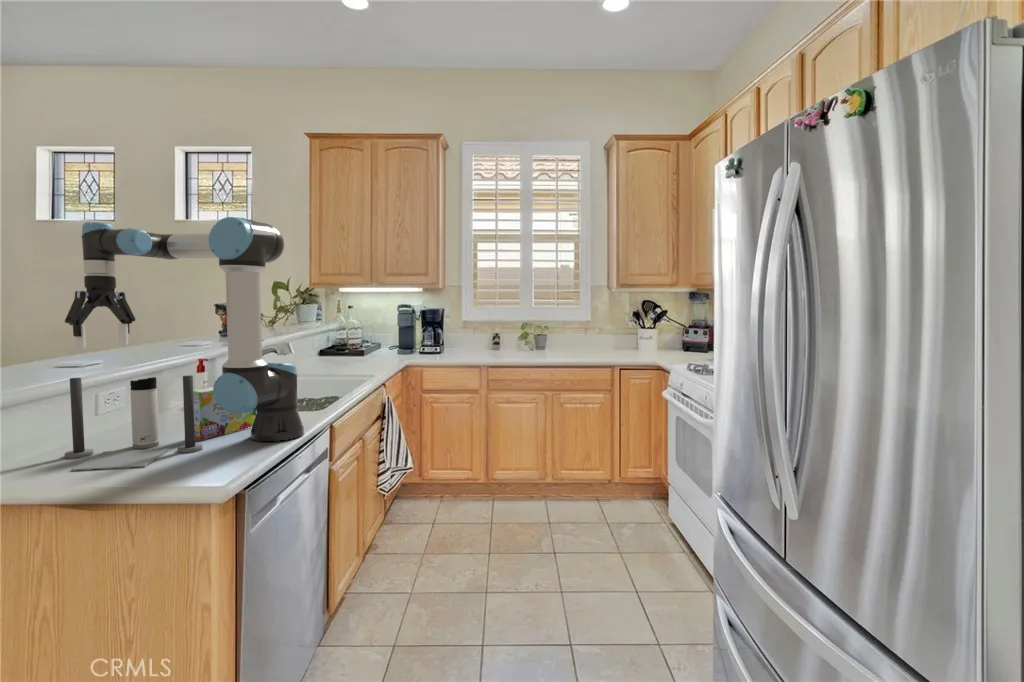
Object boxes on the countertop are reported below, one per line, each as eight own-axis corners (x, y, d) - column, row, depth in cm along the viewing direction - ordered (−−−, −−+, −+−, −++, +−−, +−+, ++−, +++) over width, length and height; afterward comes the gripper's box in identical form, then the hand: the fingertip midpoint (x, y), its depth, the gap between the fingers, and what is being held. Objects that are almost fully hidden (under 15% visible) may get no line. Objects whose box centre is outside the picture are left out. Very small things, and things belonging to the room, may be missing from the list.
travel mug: (146, 449, 151) (144, 379, 150) (127, 448, 152) (124, 378, 151) (165, 444, 157) (162, 376, 156) (146, 442, 158) (143, 375, 157)
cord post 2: (207, 448, 153) (205, 374, 152) (191, 453, 147) (188, 377, 146) (189, 446, 155) (187, 374, 153) (172, 452, 149) (169, 376, 147)
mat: (169, 450, 151) (169, 448, 151) (144, 467, 135) (144, 465, 135) (104, 453, 147) (103, 451, 147) (70, 471, 131) (70, 469, 131)
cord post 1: (99, 453, 147) (95, 377, 146) (77, 459, 141) (73, 380, 140) (81, 451, 148) (77, 376, 147) (58, 457, 142) (54, 379, 141)
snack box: (201, 441, 160) (200, 391, 159) (187, 439, 162) (186, 390, 161) (257, 426, 180) (256, 382, 179) (245, 425, 182) (243, 381, 181)
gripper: (127, 277, 174) (130, 343, 175) (46, 273, 149) (50, 349, 151) (146, 277, 172) (149, 343, 174) (68, 272, 148) (72, 349, 149)
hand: (103, 346), depth 162 cm, fingers open, 13 cm apart
